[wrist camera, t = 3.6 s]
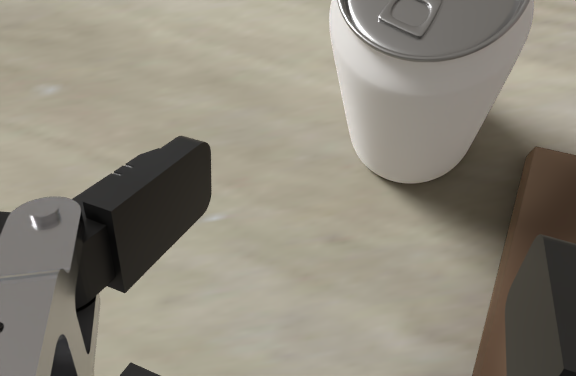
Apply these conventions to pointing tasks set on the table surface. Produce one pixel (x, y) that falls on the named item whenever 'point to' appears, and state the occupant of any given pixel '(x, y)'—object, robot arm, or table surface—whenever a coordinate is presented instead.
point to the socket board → (528, 240)
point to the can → (422, 77)
